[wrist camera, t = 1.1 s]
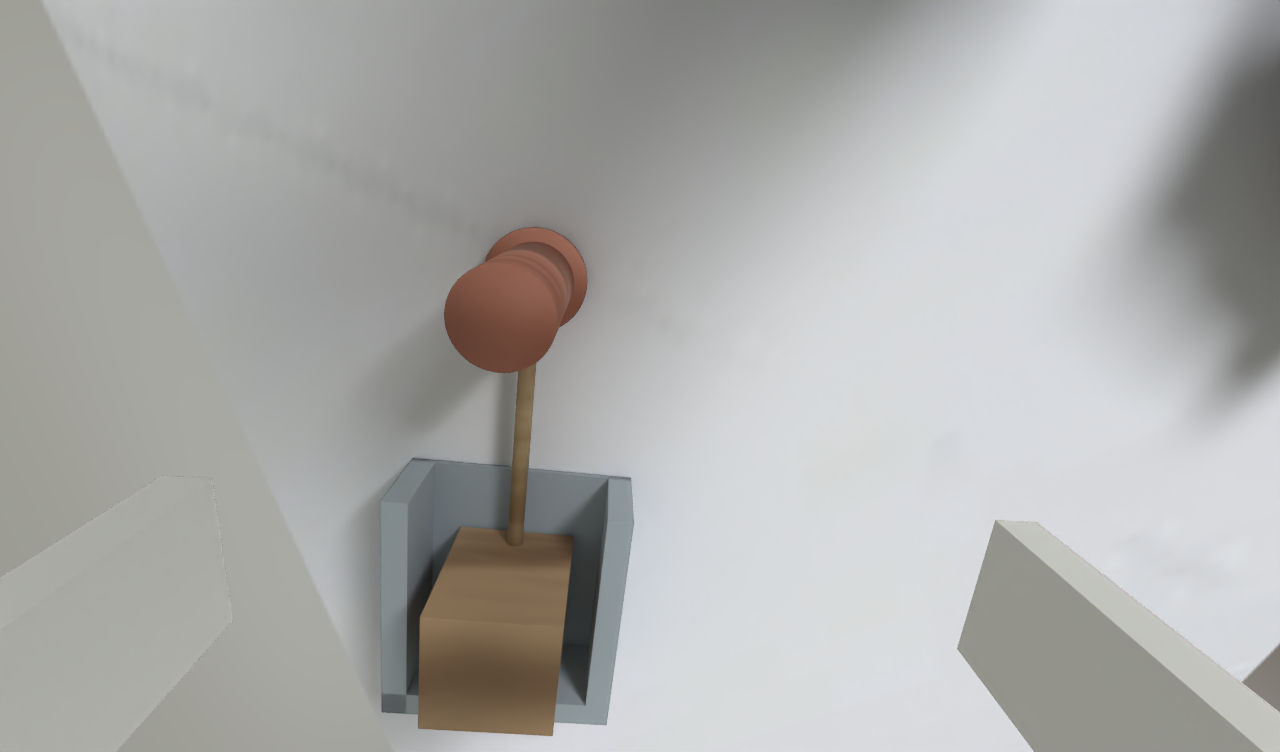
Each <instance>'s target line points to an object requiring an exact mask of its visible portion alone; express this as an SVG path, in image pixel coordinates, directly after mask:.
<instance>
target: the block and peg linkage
mask: <svg viewBox="0 0 1280 752" xmlns="http://www.w3.org/2000/svg"><path fill="white" fill-rule="evenodd" d="M586 289H587V272H586V267H585V264H584V261H583V259H582V257H581V255H580V253H579V252H578V250H577V249H576V247H575V246H574V245H573V244H572V243H571V242H570V241H569V240H567V239H566V238H565V237H563V236H562V235H560V234H558V233H556V232H554V231H552V230H549V229H545V228H538V227H530V228H523V229H519V230H516V231H514V232H511V233H509V234H507V235H505V236H504V237H503V238H501V239H500V240H499V241H498V242H497V243H496V244H495V245H494V246H493V247H492V249H491V250H490V252H489V253H488V255H487V257H486V260H485V263H483V264H481V265H479V266H477V267H475V268H474V269H472V270H470V271H468V272H467V273H465V274H464V275H463V276H461V277H460V278H459V279H458V280H457V282H456V283H455V284H454V285H453V287H452V289H451V290H450V292H449V294H448V297H447V300H446V304H445V311H444V319H445V326H446V330H447V333H448V336H449V338H450V340H451V342H452V344H453V345H454V347H455V348H456V349H457V351H458V352H459V353H460V354H461V355H462V356H463V357H464V358H465V359H466V360H468V361H469V362H470V363H472V364H474V365H476V366H477V367H480V368H482V369H484V370H488V371H492V372H498V373H510V372H516V371H518V383H517V399H516V414H515V429H514V445H513V460H512V475H511V491H510V506H509V521H508V530H496V529H484V528H472V527H461V528H460V530H459V532H458V535H457V537H456V539H455V541H454V543H453V546H452V548H451V550H450V552H449V554H448V557H447V559H446V561H445V563H444V565H443V568H442V570H441V572H440V574H439V576H438V579H437V581H436V583H435V585H434V587H433V590H432V592H431V594H430V596H429V598H428V600H427V603H426V605H425V607H424V609H423V611H422V614H421V616H420V641H419V702H418V728H419V729H436V730H454V731H472V732H490V733H507V734H525V735H543V736H553V727H554V718H555V709H556V700H557V691H558V682H559V673H560V664H561V655H562V646H563V637H564V629H565V619H566V609H567V599H568V590H569V580H570V570H571V561H572V551H573V541H574V536H568V535H556V534H544V533H532V532H524V520H525V506H526V493H527V480H528V466H529V453H530V439H531V426H532V412H533V399H534V385H535V372H536V362H538V361H539V360H540V359H541V358H542V357H543V356H544V355H545V354H546V352H547V351H548V349H549V348H550V346H551V344H552V342H553V340H554V337H555V335H556V333H557V330H558V328H559V327H560V326H562V325H564V324H565V323H567V322H568V321H569V320H570V319H571V318H572V317H573V316H574V315H575V314H576V313H577V312H578V310H579V308H580V307H581V305H582V303H583V300H584V297H585V294H586Z"/></svg>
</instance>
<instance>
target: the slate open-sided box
mask: <svg viewBox="0 0 1280 752" xmlns="http://www.w3.org/2000/svg"><path fill="white" fill-rule="evenodd" d="M511 475H512V467H506V466H495V465H484V464H473V463H462V462H451V461H440V460H429V459H418V458H413V459H412V460H411V461H410V463H409V464H408V465H407V467H406V468H405V469H404V471H403V472H402V473H401V475H400V476H399V477H398V479H397V480H396V481H395V483H394V484H393V485H392V487H391V488H390V489H389V490H388V492H387V493H386V494H385V496H384V497H383V498H382V500H381V501H380V537H381V688H382V712H386V713H404V714H418V702H419V641H420V616H421V614H422V611H423V609H424V607H425V605H426V603H427V600H428V598H429V596H430V594H431V592H432V590H433V587H434V585H435V583H436V581H437V579H438V576H439V574H440V572H441V570H442V568H443V565H444V563H445V561H446V559H447V557H448V554H449V552H450V550H451V548H452V546H453V543H454V541H455V539H456V537H457V535H458V532H459V530H460V528H461V527H472V528H484V529H496V530H508V521H509V506H510V491H511ZM633 526H634V517H633V501H632V485H631V478H627V477H616V476H605V475H594V474H583V473H572V472H561V471H550V470H539V469H528V480H527V493H526V506H525V520H524V532H532V533H544V534H556V535H568V536H574V541H573V551H572V561H571V570H570V580H569V590H568V599H567V609H566V619H565V629H564V637H563V646H562V655H561V664H560V673H559V682H558V691H557V700H556V709H555V718H554V722H558V723H576V724H593V725H607V717H608V710H609V703H610V695H611V688H612V681H613V673H614V666H615V658H616V651H617V644H618V636H619V629H620V622H621V614H622V607H623V600H624V592H625V585H626V577H627V570H628V563H629V555H630V548H631V541H632V533H633Z"/></svg>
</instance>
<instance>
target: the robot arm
mask: <svg viewBox="0 0 1280 752" xmlns="http://www.w3.org/2000/svg"><path fill="white" fill-rule="evenodd" d="M232 621H233V616H232V609H231V603H230V596H229V589H228V582H227V576H226V569H225V561H224V555H223V548H222V541H221V534H220V527H219V521H218V514H217V507H216V500H215V494H214V486H213V480H212V478H201V477H181V476H161V477H159V478H157V479H156V480H154V481H153V482H151V483H149V484H148V485H146V486H145V487H143V488H142V489H140V490H138V491H137V492H135V493H134V494H132V495H130V496H129V497H127V498H126V499H124V500H123V501H121V502H119V503H118V504H116V505H115V506H113V507H111V508H110V509H108V510H107V511H105V512H103V513H102V514H100V515H99V516H97V517H95V518H94V519H92V520H91V521H89V522H88V523H86V524H85V525H83V526H81V527H80V528H78V529H76V530H75V531H73V532H72V533H70V534H68V535H67V536H65V537H64V538H62V539H61V540H59V541H57V542H56V543H54V544H53V545H51V546H49V547H48V548H46V549H45V550H43V551H41V552H40V553H38V554H37V555H35V556H34V557H32V558H30V559H29V560H27V561H26V562H24V563H22V564H21V565H20V566H18V567H16V568H14V569H13V570H11V571H10V572H8V573H7V574H5V575H3V576H2V577H0V752H117V751H118V750H119V749H120V748H121V746H122V745H123V744H124V743H125V742H126V741H127V740H128V739H129V737H130V736H131V735H132V734H133V733H134V732H135V731H136V730H137V728H138V727H139V726H140V725H141V724H142V723H143V722H144V721H145V719H146V718H147V717H148V716H149V715H150V714H151V713H152V712H153V710H154V709H155V708H156V707H157V706H158V705H159V704H160V702H161V701H162V700H163V699H164V698H165V697H166V696H167V695H168V694H169V692H170V691H171V690H172V689H173V688H174V687H175V686H176V684H177V683H178V682H179V681H180V680H181V679H182V678H183V676H184V675H185V674H186V673H187V672H188V671H189V670H190V669H191V668H192V666H193V665H194V664H195V663H196V662H197V661H198V660H199V659H200V657H201V656H202V655H203V654H204V653H205V652H206V651H207V650H208V648H209V647H210V646H211V645H212V644H213V643H214V642H215V641H216V639H217V638H218V637H219V636H220V635H221V633H223V631H224V630H225V629H226V628H227V627H228V626H229V625H230V624H231V622H232ZM957 649H958V650H959V652H960V653H961V654H962V656H963V657H964V658H965V660H966V661H967V662H968V664H969V665H970V666H971V668H972V669H973V670H974V672H975V673H976V674H977V676H978V677H979V678H980V680H981V681H982V682H983V684H984V685H985V686H986V688H987V689H988V691H989V692H990V693H991V695H992V696H993V697H994V699H995V700H996V701H997V703H998V704H999V705H1000V707H1001V708H1002V709H1003V711H1004V712H1005V713H1006V715H1007V716H1008V717H1009V719H1010V720H1011V721H1012V723H1013V724H1014V725H1015V727H1016V728H1017V729H1018V731H1019V732H1020V733H1021V735H1022V736H1023V737H1024V739H1025V740H1026V741H1027V743H1028V744H1029V745H1030V747H1031V748H1032V749H1033V751H1034V752H1280V713H1279V712H1278V711H1277V710H1276V709H1275V708H1273V707H1272V706H1271V705H1269V704H1268V703H1267V702H1266V701H1264V700H1263V699H1262V698H1261V697H1259V696H1258V695H1257V694H1255V693H1254V692H1253V691H1252V690H1250V689H1249V688H1248V687H1246V686H1245V685H1244V684H1243V683H1241V682H1240V681H1239V680H1238V679H1236V678H1235V677H1234V676H1232V675H1231V674H1230V673H1229V672H1227V671H1226V670H1225V669H1224V668H1222V667H1221V666H1220V665H1218V664H1217V663H1216V662H1215V661H1213V660H1212V659H1211V658H1210V657H1208V656H1207V655H1206V654H1204V653H1203V652H1202V651H1201V650H1199V649H1198V648H1197V647H1196V646H1194V645H1193V644H1192V643H1190V642H1189V641H1188V640H1187V639H1185V638H1184V637H1183V636H1181V635H1180V634H1179V633H1178V632H1176V631H1175V630H1174V629H1173V628H1171V627H1170V626H1169V625H1167V624H1166V623H1165V622H1164V621H1162V620H1161V619H1160V618H1159V617H1157V616H1156V615H1155V614H1153V613H1152V612H1151V611H1150V610H1148V609H1147V608H1146V607H1145V606H1143V605H1142V604H1141V603H1139V602H1138V601H1137V600H1136V599H1134V598H1133V597H1132V596H1131V595H1129V594H1128V593H1127V592H1125V591H1124V590H1123V589H1122V588H1120V587H1119V586H1118V585H1116V584H1115V583H1114V582H1113V581H1111V580H1110V579H1109V578H1108V577H1106V576H1105V575H1104V574H1102V573H1101V572H1100V571H1099V570H1097V569H1096V568H1095V567H1094V566H1092V565H1091V564H1090V563H1088V562H1087V561H1086V560H1085V559H1083V558H1082V557H1081V556H1080V555H1078V554H1077V553H1076V552H1074V551H1073V550H1072V549H1071V548H1069V547H1068V546H1067V545H1065V544H1064V543H1063V542H1062V541H1060V540H1059V539H1058V538H1057V537H1055V536H1054V535H1053V534H1051V533H1050V532H1049V531H1048V530H1046V529H1045V528H1044V527H1043V526H1041V525H1040V524H1039V523H1037V522H1023V521H1004V520H995V523H994V526H993V530H992V533H991V537H990V540H989V543H988V547H987V550H986V553H985V557H984V560H983V563H982V567H981V570H980V574H979V577H978V580H977V584H976V587H975V590H974V594H973V597H972V600H971V604H970V607H969V610H968V614H967V617H966V621H965V624H964V627H963V631H962V634H961V637H960V641H959V644H958V647H957Z"/></svg>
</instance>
